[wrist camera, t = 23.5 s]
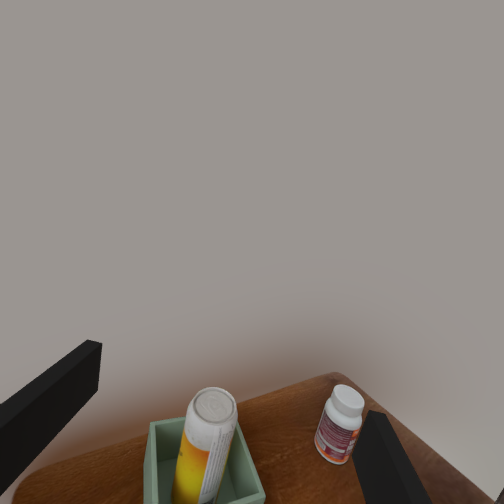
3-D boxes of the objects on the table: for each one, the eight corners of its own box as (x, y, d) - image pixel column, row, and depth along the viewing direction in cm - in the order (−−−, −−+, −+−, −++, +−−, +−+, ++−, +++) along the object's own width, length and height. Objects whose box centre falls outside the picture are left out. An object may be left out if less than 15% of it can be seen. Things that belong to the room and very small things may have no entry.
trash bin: (143, 588, 25) (153, 535, 24) (143, 464, 36) (150, 421, 35) (251, 542, 31) (266, 496, 29) (223, 446, 41) (233, 408, 40)
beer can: (201, 463, 37) (220, 378, 34) (225, 503, 33) (249, 411, 30) (161, 490, 33) (179, 396, 30) (184, 540, 29) (207, 437, 26)
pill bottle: (348, 473, 41) (370, 417, 39) (312, 455, 43) (330, 400, 41) (347, 441, 47) (366, 391, 45) (314, 426, 49) (331, 377, 46)
